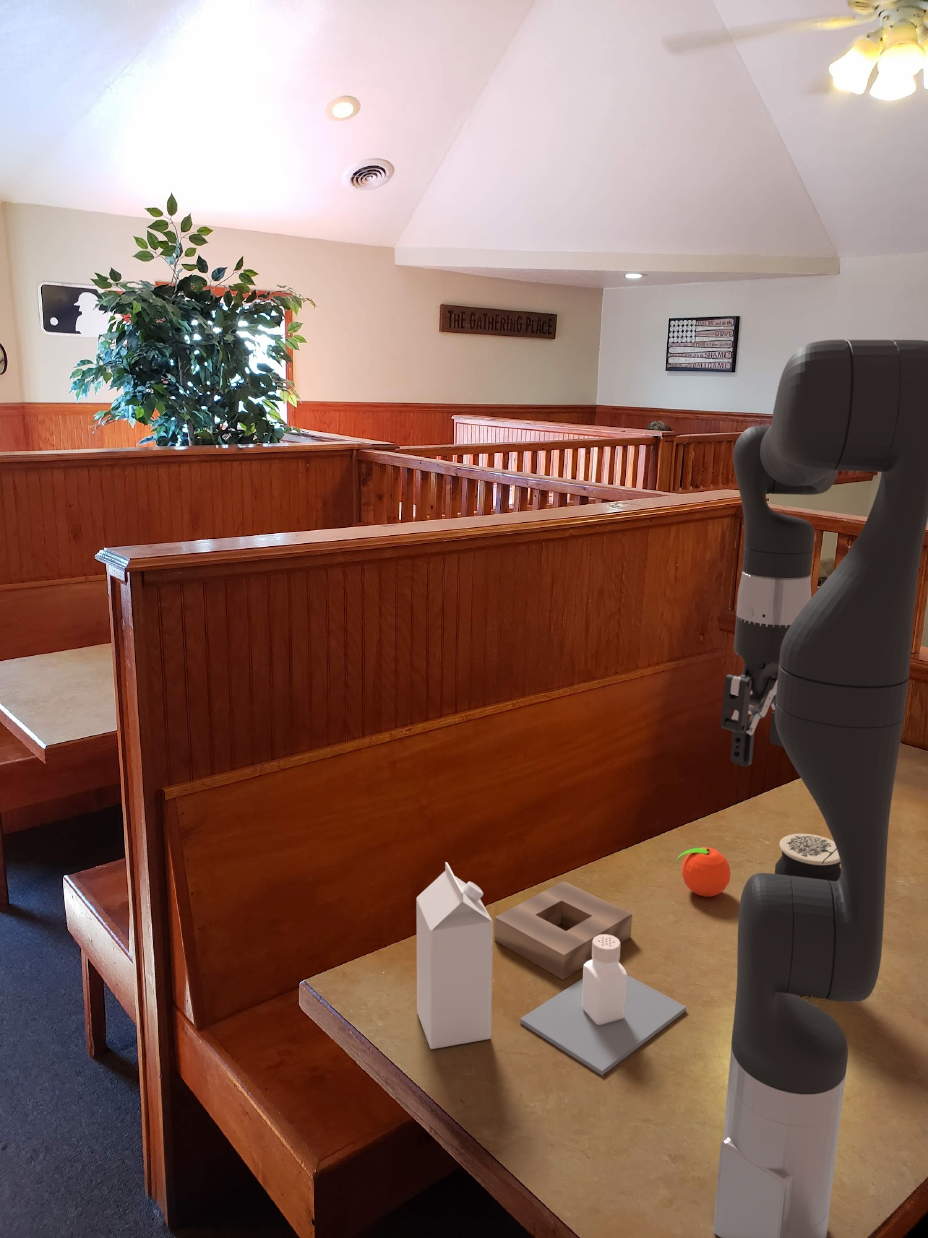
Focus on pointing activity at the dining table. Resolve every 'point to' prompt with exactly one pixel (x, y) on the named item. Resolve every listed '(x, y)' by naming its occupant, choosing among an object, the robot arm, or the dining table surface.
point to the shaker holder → (551, 946)
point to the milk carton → (454, 962)
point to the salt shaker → (604, 981)
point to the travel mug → (809, 857)
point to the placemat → (609, 1041)
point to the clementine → (705, 871)
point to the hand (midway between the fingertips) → (760, 754)
